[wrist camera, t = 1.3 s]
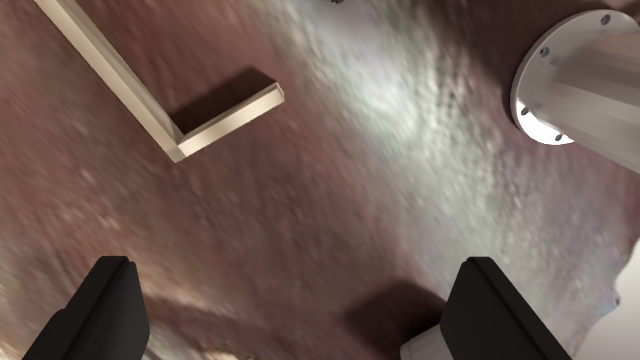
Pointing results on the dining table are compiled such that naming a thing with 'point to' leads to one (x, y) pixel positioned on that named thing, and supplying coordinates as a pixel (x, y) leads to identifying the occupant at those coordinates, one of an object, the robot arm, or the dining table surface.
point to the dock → (137, 98)
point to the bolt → (337, 1)
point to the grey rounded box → (426, 346)
